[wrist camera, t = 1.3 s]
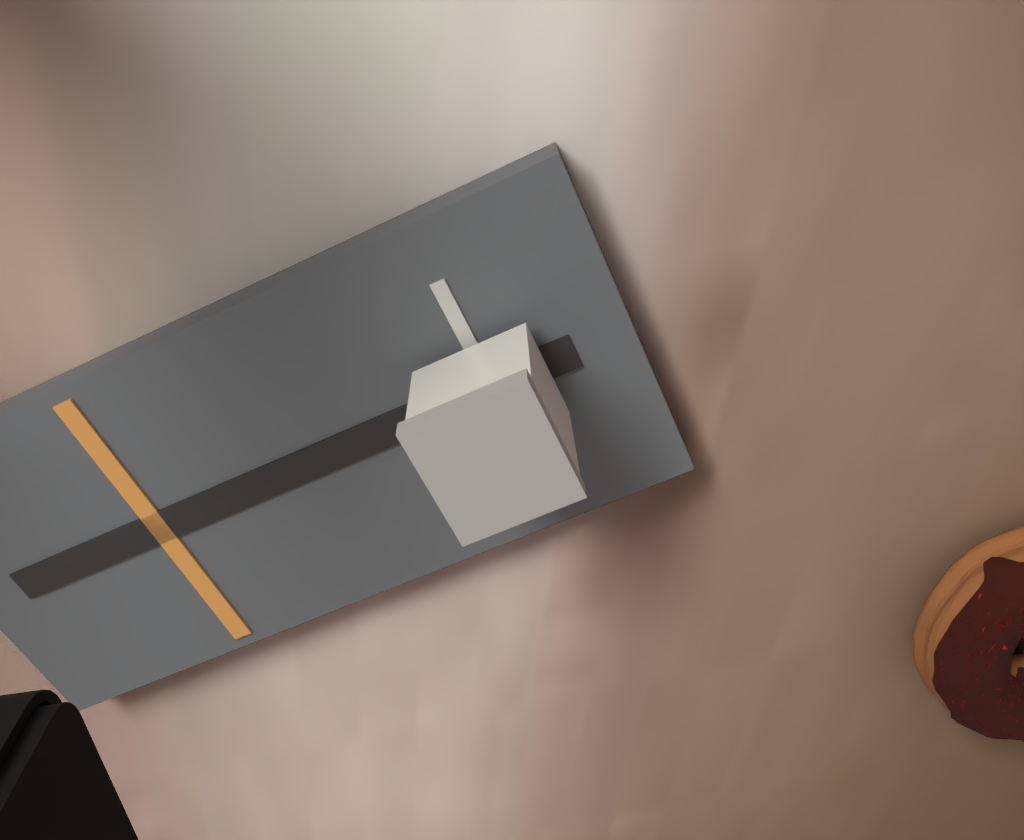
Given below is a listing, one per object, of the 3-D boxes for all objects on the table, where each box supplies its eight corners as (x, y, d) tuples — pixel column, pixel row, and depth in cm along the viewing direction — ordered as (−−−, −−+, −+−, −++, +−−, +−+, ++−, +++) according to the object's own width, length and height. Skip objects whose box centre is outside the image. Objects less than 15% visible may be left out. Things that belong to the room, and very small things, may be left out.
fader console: (555, 142, 29) (558, 154, 28) (686, 447, 35) (695, 470, 33) (-116, 457, 34) (-143, 482, 32) (91, 684, 39) (76, 713, 38)
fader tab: (520, 313, 30) (527, 379, 26) (573, 420, 32) (587, 497, 28) (407, 363, 30) (395, 435, 26) (465, 464, 32) (462, 546, 28)
